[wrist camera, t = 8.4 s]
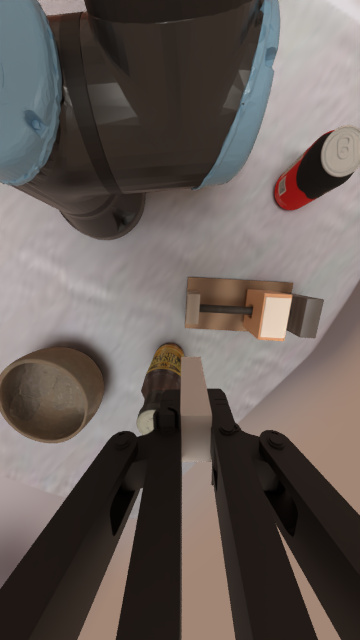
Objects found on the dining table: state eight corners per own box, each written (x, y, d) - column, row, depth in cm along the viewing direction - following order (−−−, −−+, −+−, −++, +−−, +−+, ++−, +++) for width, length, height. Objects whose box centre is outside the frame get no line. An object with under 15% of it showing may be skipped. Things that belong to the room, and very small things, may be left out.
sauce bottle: (185, 342, 41) (187, 402, 22) (183, 369, 43) (184, 448, 24) (154, 340, 41) (129, 399, 22) (153, 368, 43) (129, 446, 24)
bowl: (23, 391, 45) (-21, 423, 35) (48, 323, 41) (6, 338, 31) (94, 421, 46) (71, 460, 37) (124, 358, 43) (107, 384, 33)
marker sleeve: (247, 289, 36) (265, 293, 28) (269, 290, 36) (293, 295, 28) (242, 326, 38) (258, 340, 30) (263, 327, 38) (285, 341, 30)
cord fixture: (185, 326, 41) (185, 343, 31) (187, 277, 38) (189, 278, 29) (282, 332, 41) (312, 350, 31) (291, 282, 38) (326, 285, 29)
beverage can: (272, 214, 36) (315, 185, 24) (271, 174, 34) (317, 123, 22) (307, 209, 35) (369, 177, 24) (308, 169, 34) (375, 114, 22)
